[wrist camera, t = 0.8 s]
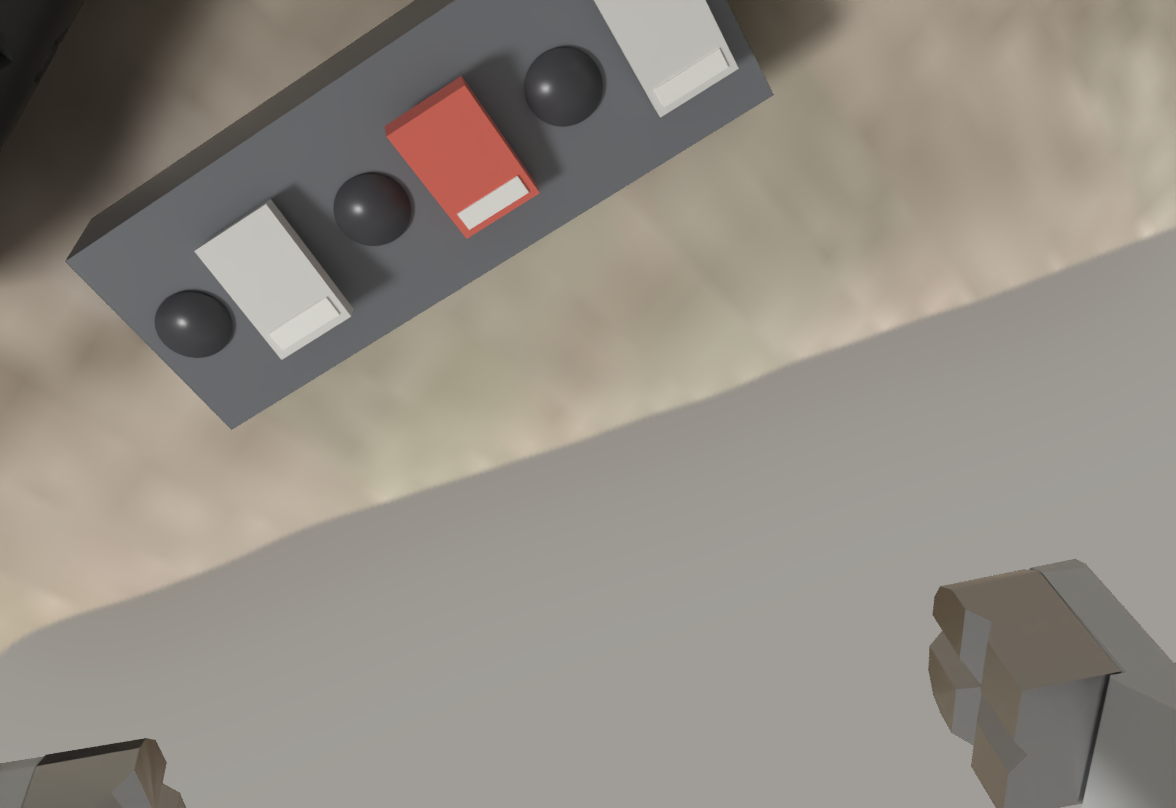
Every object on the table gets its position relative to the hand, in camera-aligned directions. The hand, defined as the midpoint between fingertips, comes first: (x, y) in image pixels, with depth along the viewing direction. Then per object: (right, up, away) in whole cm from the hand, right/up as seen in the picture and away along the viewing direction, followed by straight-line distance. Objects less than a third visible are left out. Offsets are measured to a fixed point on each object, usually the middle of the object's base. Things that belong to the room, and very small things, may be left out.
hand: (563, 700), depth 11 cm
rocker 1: (-11, +8, +29) cm, 32 cm away
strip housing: (-6, +13, +32) cm, 35 cm away
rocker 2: (+3, +16, +26) cm, 31 cm away
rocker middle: (-4, +12, +28) cm, 30 cm away
